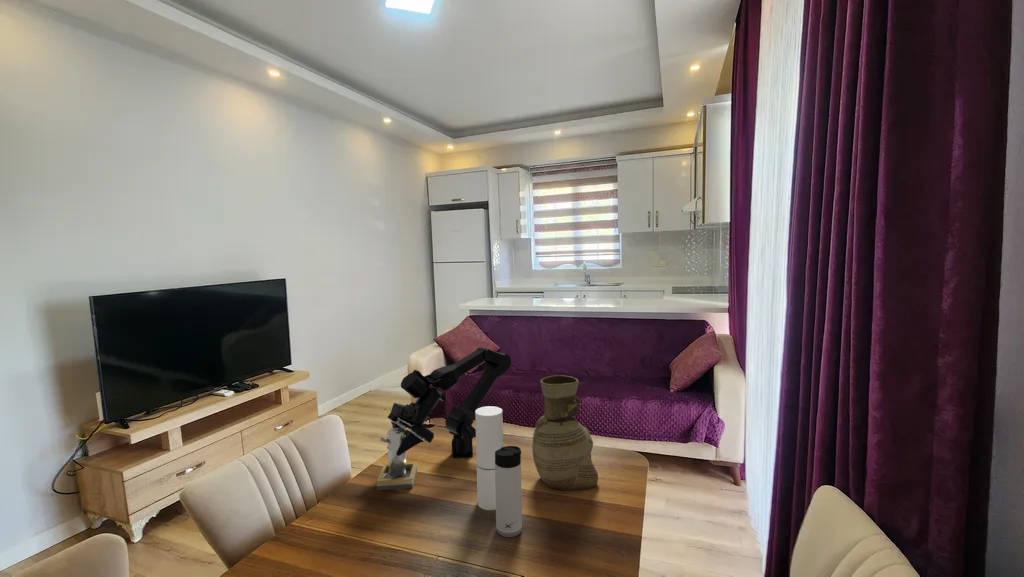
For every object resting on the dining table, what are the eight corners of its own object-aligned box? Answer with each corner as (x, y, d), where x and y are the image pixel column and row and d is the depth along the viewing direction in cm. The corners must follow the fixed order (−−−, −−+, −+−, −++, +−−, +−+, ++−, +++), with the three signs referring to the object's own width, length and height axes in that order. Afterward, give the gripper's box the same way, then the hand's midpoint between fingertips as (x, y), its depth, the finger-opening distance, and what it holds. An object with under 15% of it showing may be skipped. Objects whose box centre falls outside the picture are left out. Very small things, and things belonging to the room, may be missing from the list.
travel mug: (512, 542, 96) (511, 457, 95) (490, 531, 100) (489, 449, 99) (528, 527, 101) (527, 447, 100) (506, 518, 105) (505, 440, 103)
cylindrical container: (505, 495, 115) (503, 406, 113) (502, 510, 108) (500, 416, 106) (480, 494, 116) (477, 406, 114) (475, 509, 109) (472, 415, 107)
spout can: (401, 466, 128) (399, 426, 127) (409, 472, 124) (408, 431, 123) (378, 475, 123) (376, 433, 122) (386, 481, 119) (384, 438, 118)
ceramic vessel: (603, 466, 130) (602, 371, 128) (593, 503, 110) (592, 392, 109) (544, 457, 137) (542, 367, 135) (524, 491, 117) (522, 386, 115)
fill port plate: (417, 470, 130) (416, 462, 129) (412, 487, 120) (412, 478, 120) (384, 472, 129) (383, 464, 129) (376, 490, 119) (376, 481, 119)
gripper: (391, 385, 132) (359, 430, 125) (423, 399, 119) (389, 449, 112) (414, 404, 138) (385, 447, 131) (447, 418, 124) (416, 467, 118)
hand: (392, 452), depth 123 cm, fingers closed on spout can, 5 cm apart
